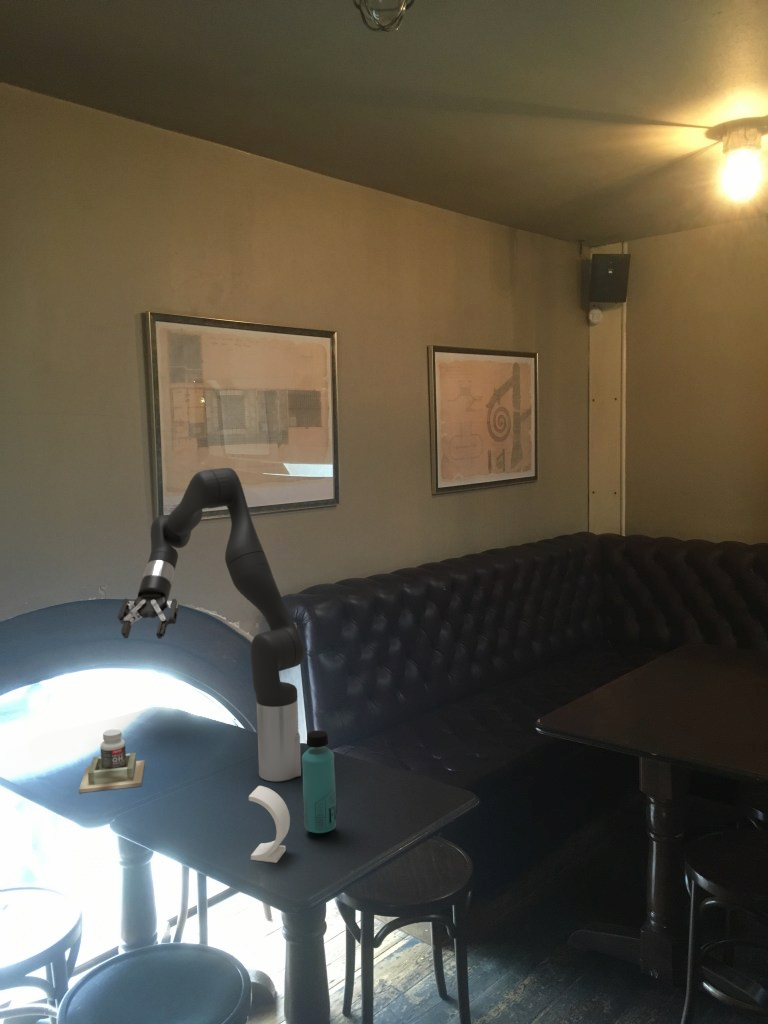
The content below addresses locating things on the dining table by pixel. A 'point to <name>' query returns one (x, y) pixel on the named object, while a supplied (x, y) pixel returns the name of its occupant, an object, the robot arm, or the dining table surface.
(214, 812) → the dining table surface
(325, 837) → the dining table surface
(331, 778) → the beverage bottle
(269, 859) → the headphone stand
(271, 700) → the robot arm
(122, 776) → the holder
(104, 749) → the pill bottle
